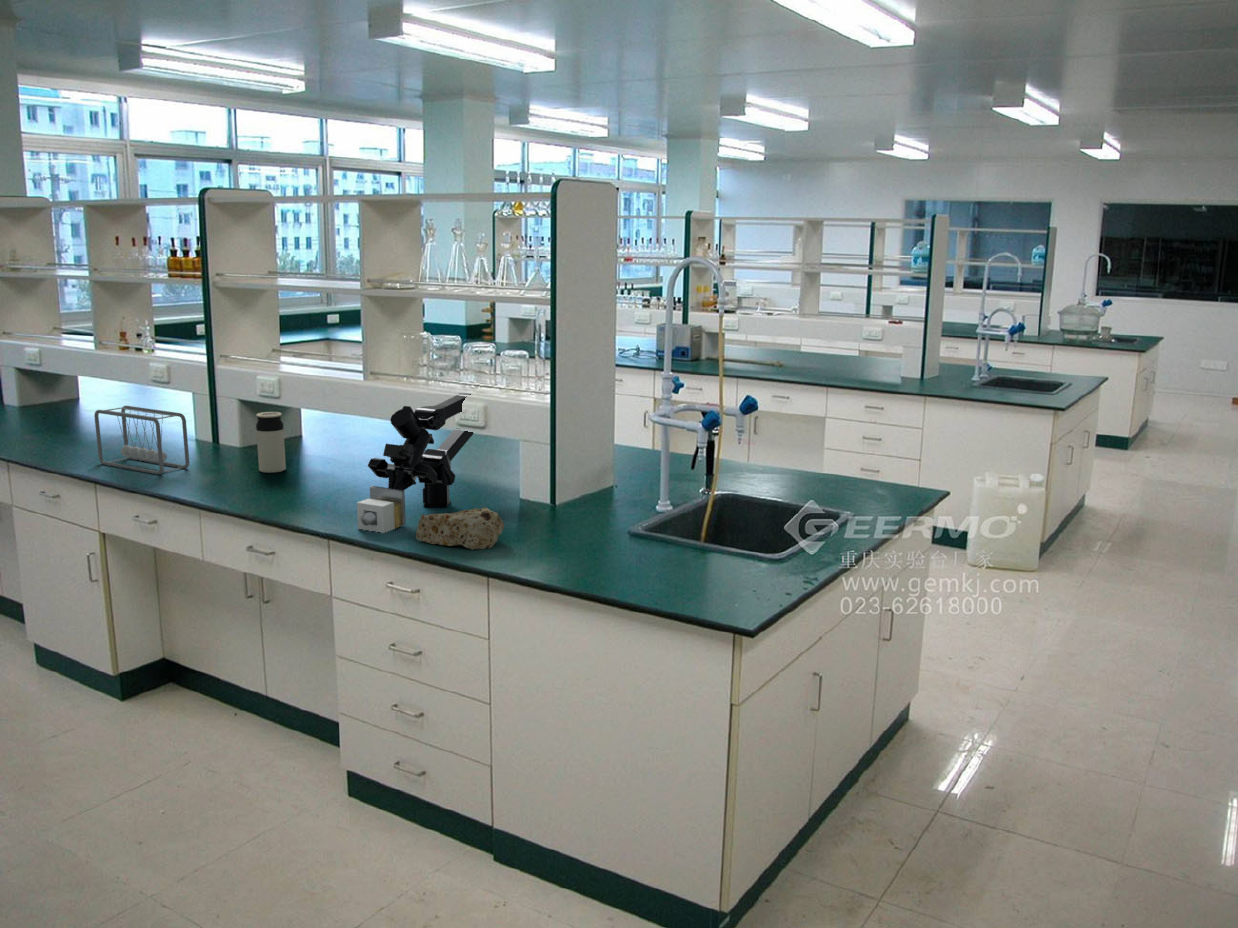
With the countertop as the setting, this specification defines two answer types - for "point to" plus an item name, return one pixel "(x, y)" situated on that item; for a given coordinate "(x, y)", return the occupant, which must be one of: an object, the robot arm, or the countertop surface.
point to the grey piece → (385, 495)
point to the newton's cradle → (142, 452)
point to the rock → (461, 528)
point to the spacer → (397, 515)
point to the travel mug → (270, 442)
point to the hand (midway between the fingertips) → (389, 498)
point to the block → (383, 515)
